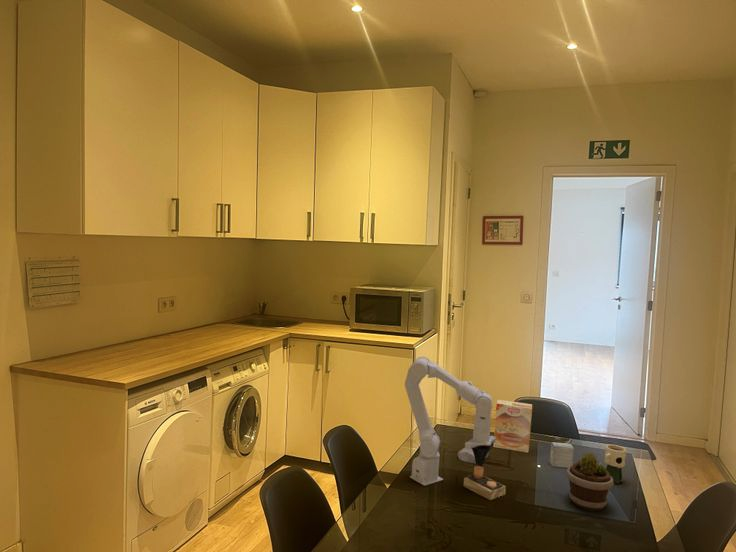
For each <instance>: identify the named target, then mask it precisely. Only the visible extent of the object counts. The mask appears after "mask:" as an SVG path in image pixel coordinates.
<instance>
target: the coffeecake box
mask: <svg viewBox="0 0 736 552" xmlns="http://www.w3.org/2000/svg"><path fill="white" fill-rule="evenodd" d="M495 408H496V409H495V419H494V431H493V433H494V434H493V436H494V437H496V443H493V442H492V444H493V445H492V447H493V448H497V449H504V450H509V451H515V452H516V451H517V452H521V453H529V451H530V450H529V449H530V441H531V440H530V439H531V428H532V416H533V414H532V413H533V404H531V403H526V402H517V401H511V400H505V399H504V400H503V399H497V400H496V407H495Z"/></svg>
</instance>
